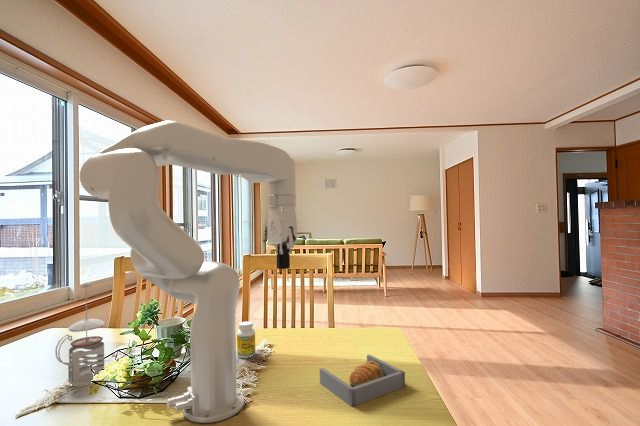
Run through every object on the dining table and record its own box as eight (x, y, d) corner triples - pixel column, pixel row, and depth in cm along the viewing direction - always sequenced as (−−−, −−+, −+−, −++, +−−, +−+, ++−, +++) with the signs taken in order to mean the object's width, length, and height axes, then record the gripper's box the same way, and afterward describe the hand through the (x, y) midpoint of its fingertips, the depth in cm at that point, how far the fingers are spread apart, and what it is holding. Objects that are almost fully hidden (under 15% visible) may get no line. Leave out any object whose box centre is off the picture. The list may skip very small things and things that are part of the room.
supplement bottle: (252, 350, 109) (252, 319, 109) (257, 356, 104) (257, 324, 104) (235, 353, 106) (234, 322, 107) (239, 360, 102) (239, 326, 102)
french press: (116, 375, 93) (115, 281, 94) (65, 393, 84) (64, 289, 84) (98, 366, 99) (97, 278, 99) (49, 383, 89) (48, 285, 89)
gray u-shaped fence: (351, 406, 76) (351, 390, 76) (320, 383, 87) (319, 368, 87) (405, 386, 84) (404, 372, 84) (369, 367, 95) (369, 354, 95)
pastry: (365, 392, 82) (364, 376, 82) (342, 384, 86) (341, 368, 86) (385, 378, 89) (385, 363, 89) (363, 371, 93) (363, 356, 93)
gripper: (259, 203, 101) (260, 266, 101) (281, 200, 89) (282, 273, 88) (282, 203, 105) (283, 264, 105) (307, 201, 93) (308, 270, 92)
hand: (283, 268), depth 97 cm, fingers closed
